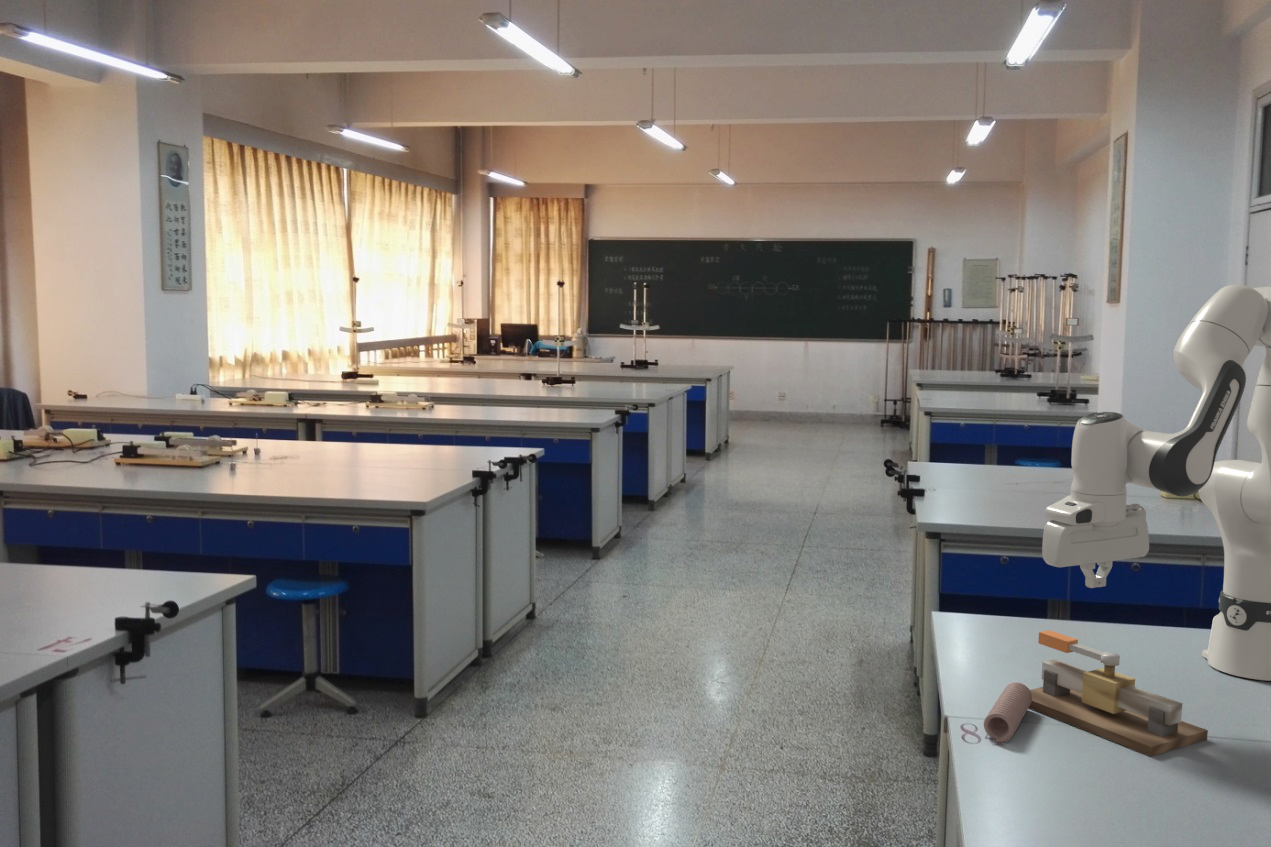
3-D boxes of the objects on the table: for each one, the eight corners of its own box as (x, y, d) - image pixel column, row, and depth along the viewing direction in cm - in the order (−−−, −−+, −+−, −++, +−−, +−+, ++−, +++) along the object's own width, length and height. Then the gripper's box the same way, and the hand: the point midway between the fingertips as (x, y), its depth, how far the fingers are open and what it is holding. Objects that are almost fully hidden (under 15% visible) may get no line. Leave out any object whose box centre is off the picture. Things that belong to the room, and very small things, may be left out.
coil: (1015, 719, 170) (1035, 685, 186) (984, 710, 172) (1006, 677, 188) (1010, 747, 171) (1031, 711, 186) (980, 738, 173) (1002, 703, 189)
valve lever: (1037, 643, 192) (1038, 632, 191) (1049, 641, 193) (1049, 630, 193) (1111, 668, 179) (1112, 656, 178) (1122, 666, 180) (1123, 654, 180)
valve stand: (1068, 688, 196) (1071, 637, 195) (1207, 739, 174) (1211, 682, 173) (1013, 702, 189) (1016, 649, 188) (1150, 756, 167) (1154, 696, 166)
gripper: (1131, 499, 196) (1129, 575, 197) (1037, 509, 189) (1035, 588, 190) (1159, 505, 190) (1156, 584, 191) (1063, 516, 183) (1061, 597, 184)
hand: (1095, 586), depth 191 cm, fingers closed
